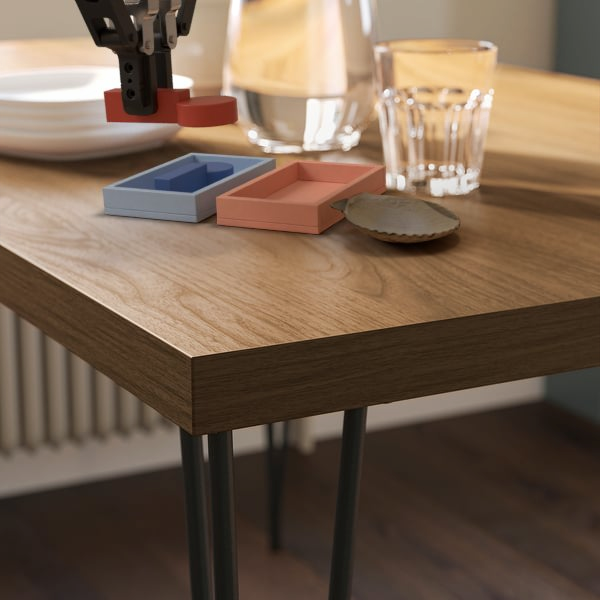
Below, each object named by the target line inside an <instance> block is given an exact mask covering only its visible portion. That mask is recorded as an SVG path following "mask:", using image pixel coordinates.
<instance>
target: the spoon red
mask: <svg viewBox="0 0 600 600" xmlns="http://www.w3.org/2000/svg"><path fill="white" fill-rule="evenodd" d="M121 91H122V89H121V87H114V88H111V89H108V90H104V91H103V99H104V109H105V110H104V111H105V117H106V122H107V123H126V124H169V125H170V124H174V125H175V124H177V125H178V126H180V127H183V128H192V129H193V128H195V129H196V128H197V129H199V128H201V129H202V128H216V127H223V126H227V125H231V124H235V123H236V122H238V121H239V113H238V99H237V97H236V96H231V95H202V96H201V95H200V96H192V97H191V90H190V88H173V89H157V91H158V92H157V98H158V110H157V112H156V113H155V114H152V115H149V116H141V115H128V114H127V113H126V112H125V111H124V109H123V102H122V96H121Z"/></svg>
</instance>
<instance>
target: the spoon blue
mask: <svg viewBox="0 0 600 600" xmlns="http://www.w3.org/2000/svg"><path fill="white" fill-rule="evenodd" d="M233 174H234V167H233V165H232V164H229V163H224V162H202V163H190V164H188V165H185V166H183V167H180V168H178V169H175V170H173V171H171V172H168V173H166V174H163V175H161V176H158V177H156V178H154V181H155V190H161V191H173V192H185V193H193V192H196V191H198V190H200V189H202V188H204V187H207V186H209V185H211V184H213V183H215V182H218V181H220V180H222V179H224V178H226V177H229V176H231V175H233Z"/></svg>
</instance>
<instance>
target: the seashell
mask: <svg viewBox="0 0 600 600" xmlns="http://www.w3.org/2000/svg"><path fill="white" fill-rule="evenodd" d="M330 207H331V208H333V209H337V210H341V212H342V213H343V214H344V215H345V217H344V218H345V220H346V222H348V224H349V225H350V226H352V227H353V228H354V229H356V230H357V231H359V232H360V233H362V234H364V235H366V236H368V237H371V238H373V239H375V240H379V241H383V242H390V243H395V244H403V245H405V244H415V243H423V242H429V241H431V240H437V239H440V238H444V237H445V236H448V235H450V234H453V233H455V231H459V228H460V227H461V219H460V217H459V216H458V215H457V214H456V212H454V211H453V210H451V209H449V208H447V207H446V206H443V205H441V204H439V203H437V202H433V201H429V200H424V199H421V198H417V197H411V196H400V195H388V194H380V195H376V194H367V193H365V192H362V193H358V194H355V195H353V196H351V197H349V198H345V199H341V200H338V201H336V202H333V203H330Z"/></svg>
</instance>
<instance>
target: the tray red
mask: <svg viewBox="0 0 600 600" xmlns="http://www.w3.org/2000/svg"><path fill="white" fill-rule="evenodd" d="M386 191H387V166H386V165H379V164H364V163H349V162H334V161H323V160H322V161H320V160H304V159H293V160H291V161H288V162H287V163H283V164H282V165H280V166H278V167H276V169H274V170H272V171H270V172H268V173H265V174H263V175H261V176H259V177H257V178H255V179H253V180H251V181H249V182H247V183H245V184H242V185H240V186H238V187H236V188H234V189H232V190H230V191H228V192H226V193H224V194H222V195H220V196H218V197H216V205H217V213H216V224H217V225H218V226H227V227H237V228H248V229H259V230H268V231H269V230H270V231H279V232H291V233H301V234H311V235H312V234H314V235H319V234H321V233H322V232H324V231H326V230H327V229H329V228H330V227H332V226H333V225H335V224H337V223H338V222H340V221H341V220H343V219H344V218H346V217H345V215H344V214H343V213H342V212H341V210H337V209H333V208H331V207H330V203H333V202H336V201H338V200H341V199H345V198H349V197H351V196H353V195H355V194H358V193H362V192H365V193H367V194H376V195H383V194H384V193H385V192H386Z"/></svg>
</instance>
